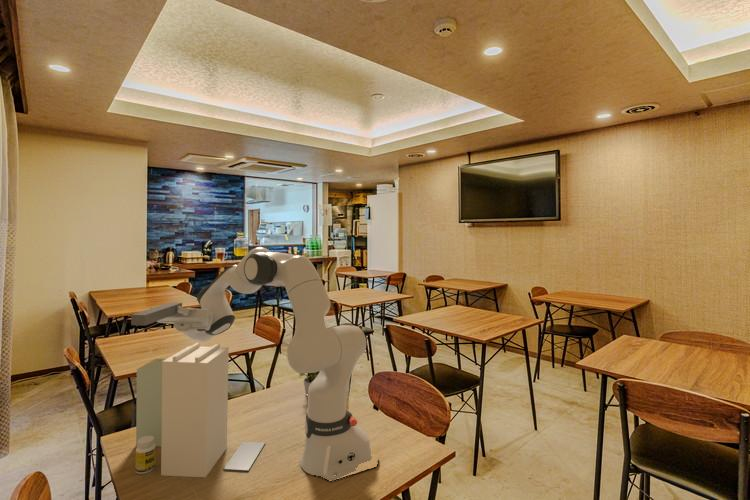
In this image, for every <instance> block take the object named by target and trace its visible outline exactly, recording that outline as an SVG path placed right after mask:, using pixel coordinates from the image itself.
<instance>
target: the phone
mask: <svg viewBox="0 0 750 500" xmlns="http://www.w3.org/2000/svg"><path fill="white" fill-rule="evenodd" d="M265 445H266V442H258V441H257V442H255V441H242V443H241V444H240V445H239V446H238V448H237V449H236V450H235V452H234V453H233V455H232V456H231V458H229V461H227V463H226V464H225V466H224V467H223V471H226V472H228V471H229V472H239V473H240V472H243V473H249V472H250V469H251V468H252V466H253V465H254V464H255V462H256V460H257V458H258V457H259V455H260V453H261V452H262V451H263V449H264V447H265Z"/></svg>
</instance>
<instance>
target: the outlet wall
mask: <svg viewBox="0 0 750 500" xmlns="http://www.w3.org/2000/svg"><path fill="white" fill-rule="evenodd" d="M220 345H221V343H215V344H214V345H212V346H201V343H200V342H196V343H194V344H192V345H188V346H187V347H185V348H183V349H181V350H180V351H178V352H176V353H174V354H173V355H171V356H168V357H167V358H165V359H166V360H164V361H162V441H161V449H160V450H161V452H160V453H161V455H160V456H161V458H160V460H161V461H160V465H161V467H160V470H161V471H160V472H161V473H160V476H164V477H165V476H166V477H167V476H169V477H189V478H191V477H193V478H207V477H208V475H209V473H210V472H211V470H212V469H213V468H214V466H215V465H216V464H217V462H218V461H219V459H220V458H221V457H222V456H223V454H224V453H225V451H226V450H227V449H228V414H229V412H228V408H229V407H228V405H229V404H228V403H229V402H228V400H229V399H228V397H229V355H230V353H229V352H230V351H229V350H230V349H229V347H227V346H226V347H223V346H220Z"/></svg>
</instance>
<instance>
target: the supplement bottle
mask: <svg viewBox="0 0 750 500" xmlns="http://www.w3.org/2000/svg"><path fill="white" fill-rule="evenodd" d="M156 447H157V446H156V445H155V443H154V437H153V436H144V437H142V438H140V439H139V440H138V441H137V445H136V447H135V448H136V449H135V466H134V467H135V470H134V472H135V474H138V475H144V474H148V473H150V472H152V471H153V470H155V468H156V458H157V457H156V454H157V453H156V452H157V451H156V450H157V449H156Z"/></svg>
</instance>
